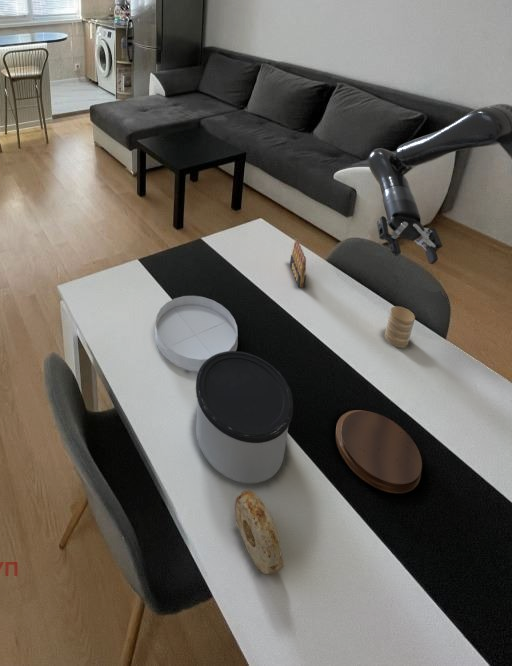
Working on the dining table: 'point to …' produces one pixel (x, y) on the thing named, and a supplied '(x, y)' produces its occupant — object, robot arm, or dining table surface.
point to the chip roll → (399, 326)
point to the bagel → (258, 532)
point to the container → (242, 415)
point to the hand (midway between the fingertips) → (415, 258)
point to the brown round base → (379, 451)
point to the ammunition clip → (298, 264)
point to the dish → (194, 331)
